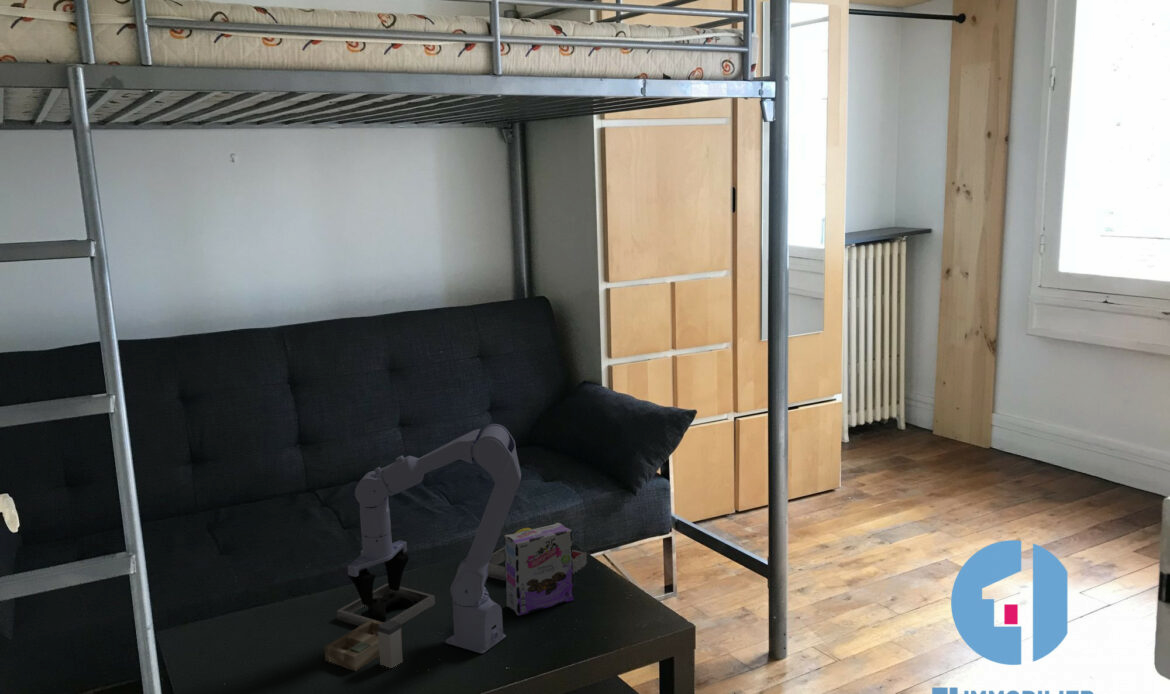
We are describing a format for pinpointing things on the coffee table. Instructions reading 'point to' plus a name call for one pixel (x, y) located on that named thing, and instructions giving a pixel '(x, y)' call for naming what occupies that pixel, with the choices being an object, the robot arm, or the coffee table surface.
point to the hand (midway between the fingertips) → (381, 596)
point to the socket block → (355, 647)
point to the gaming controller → (388, 604)
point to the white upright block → (390, 644)
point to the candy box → (538, 568)
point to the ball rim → (499, 571)
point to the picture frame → (424, 603)
